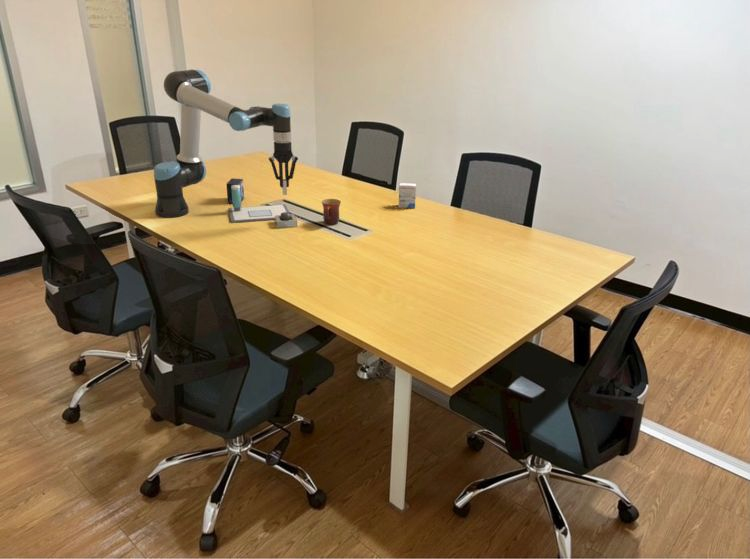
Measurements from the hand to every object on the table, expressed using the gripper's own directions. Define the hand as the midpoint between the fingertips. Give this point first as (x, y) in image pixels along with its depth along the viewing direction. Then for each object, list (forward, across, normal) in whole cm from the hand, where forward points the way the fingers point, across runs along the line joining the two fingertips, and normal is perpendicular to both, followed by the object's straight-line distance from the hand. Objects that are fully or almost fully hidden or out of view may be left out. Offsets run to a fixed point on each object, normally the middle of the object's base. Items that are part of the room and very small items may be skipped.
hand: (284, 194), depth 255 cm
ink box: (+15, +64, +13) cm, 67 cm away
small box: (+15, -19, +41) cm, 47 cm away
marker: (+13, -20, +22) cm, 32 cm away
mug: (+15, +20, -4) cm, 25 cm away
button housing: (+14, 0, 0) cm, 14 cm away
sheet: (+14, -10, +17) cm, 24 cm away
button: (+13, 0, 0) cm, 13 cm away
